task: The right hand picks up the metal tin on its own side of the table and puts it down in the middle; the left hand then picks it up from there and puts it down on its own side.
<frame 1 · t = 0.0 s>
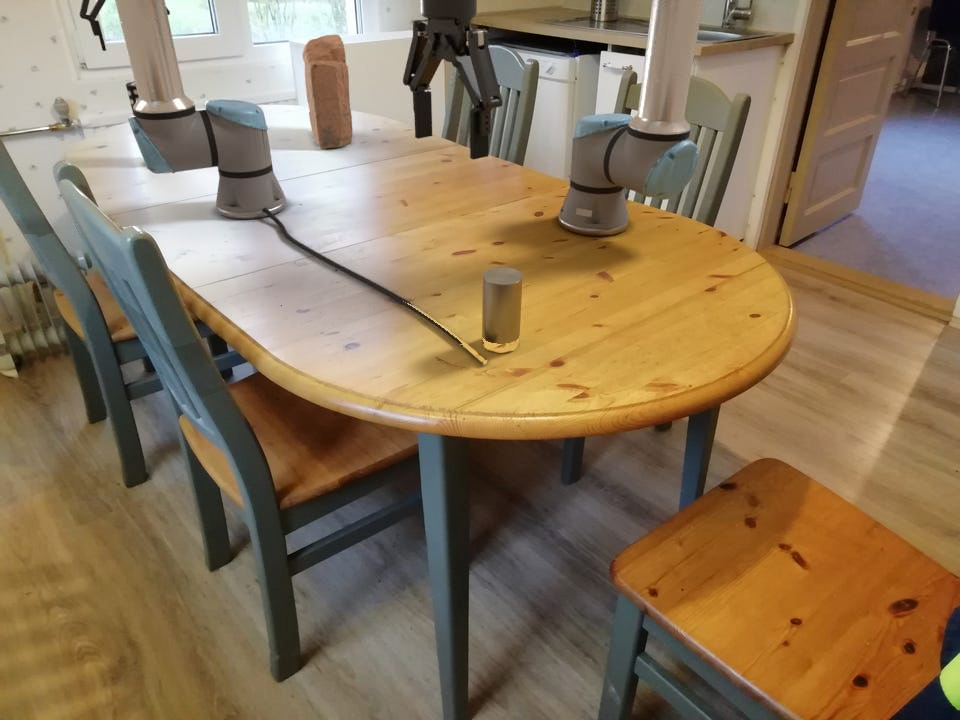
left hand: (133, 48, 174), 28 cm above the table, tool pointing down, fingers open, 13 cm apart
right hand: (450, 146, 102), 28 cm above the table, tool pointing down, fingers open, 13 cm apart
stone: (332, 139, 207), on the table
tin: (500, 343, 109), on the table
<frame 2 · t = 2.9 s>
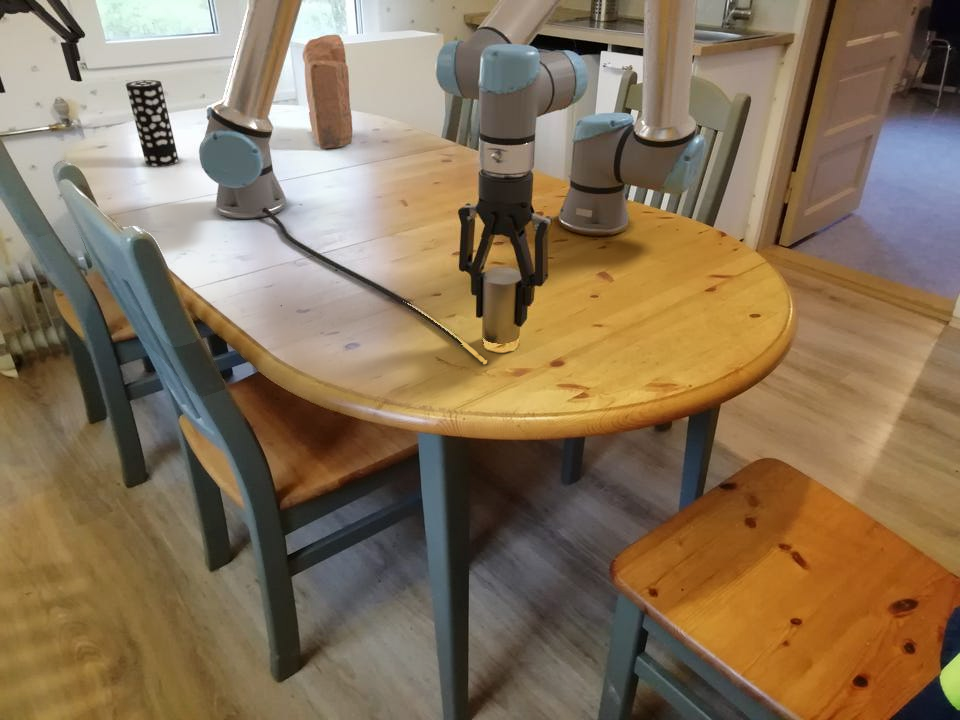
left hand: (39, 86, 126), 30 cm above the table, tool pointing down, fingers open, 13 cm apart
right hand: (501, 317, 106), 5 cm above the table, tool pointing down, fingers closed on tin, 6 cm apart
tin: (500, 343, 109), on the table, touching right hand
everything else where it was.
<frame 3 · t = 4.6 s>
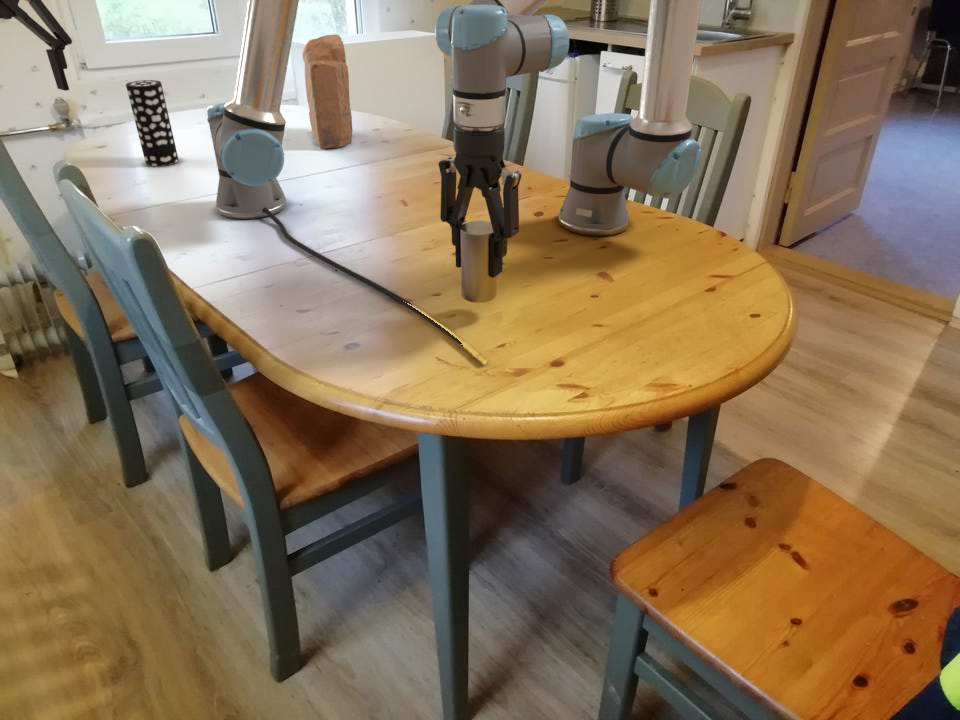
left hand: (24, 95, 119), 30 cm above the table, tool pointing down, fingers open, 13 cm apart
right hand: (478, 269, 113), 8 cm above the table, tool pointing down, fingers closed on tin, 6 cm apart
tin: (478, 294, 115), point 4 cm above the table, touching right hand
everything else where it was.
when the right hand's fingers open (6 cm above the table, at t = 6.5 s): tin drops 2 cm, on the table.
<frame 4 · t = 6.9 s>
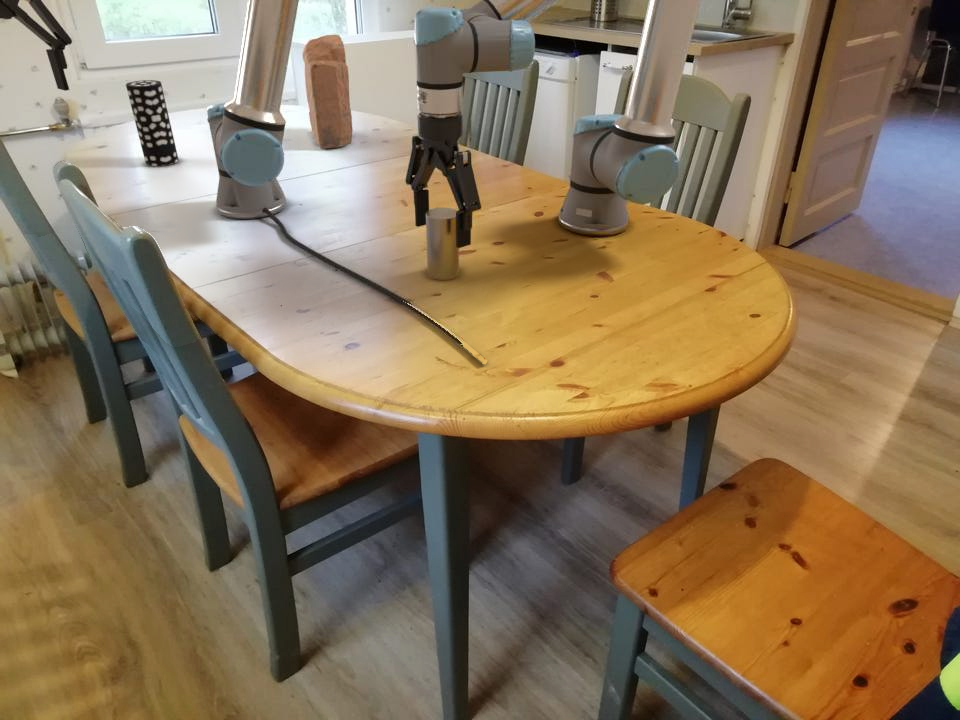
left hand: (24, 95, 119), 30 cm above the table, tool pointing down, fingers open, 13 cm apart
right hand: (442, 235, 126), 8 cm above the table, tool pointing down, fingers open, 12 cm apart
tin: (443, 273, 130), on the table
everything else where it was.
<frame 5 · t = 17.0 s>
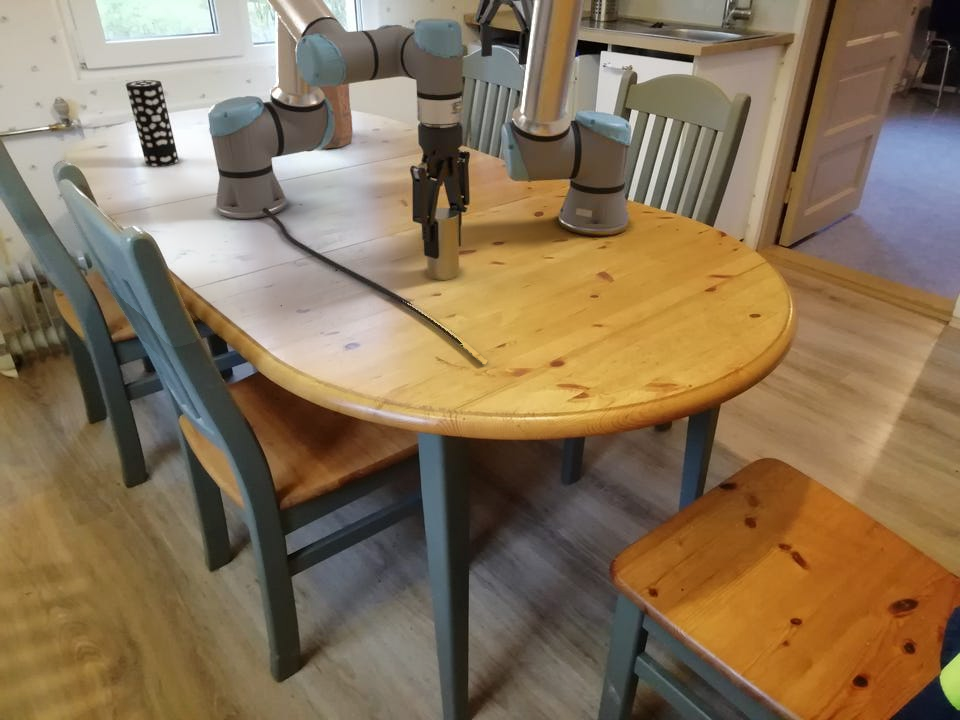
left hand: (442, 250, 128), 5 cm above the table, tool pointing down, fingers closed on tin, 6 cm apart
right hand: (504, 60, 165), 28 cm above the table, tool pointing down, fingers open, 13 cm apart
tin: (443, 273, 130), on the table, touching left hand
everything else where it was.
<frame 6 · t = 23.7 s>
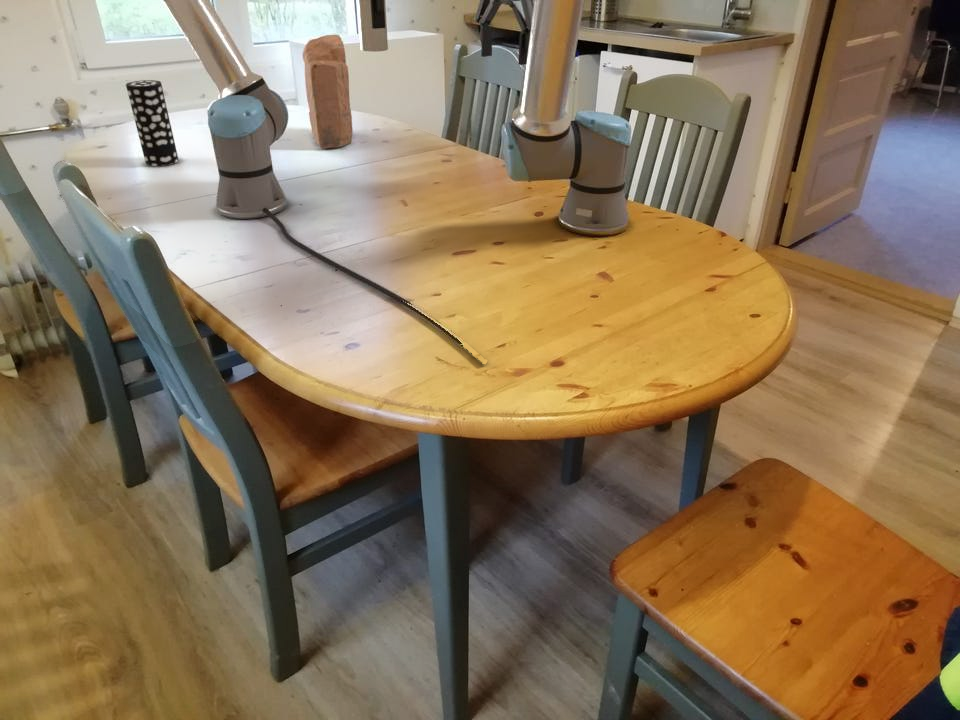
left hand: (372, 26, 149), 37 cm above the table, tool pointing down, fingers closed on tin, 6 cm apart
right hand: (504, 60, 165), 28 cm above the table, tool pointing down, fingers open, 13 cm apart
tin: (374, 49, 152), point 32 cm above the table, touching left hand
everything else where it was.
when the left hand's fingers open (6 cm above the table, at t = 30.7 s): tin drops 2 cm, on the table.
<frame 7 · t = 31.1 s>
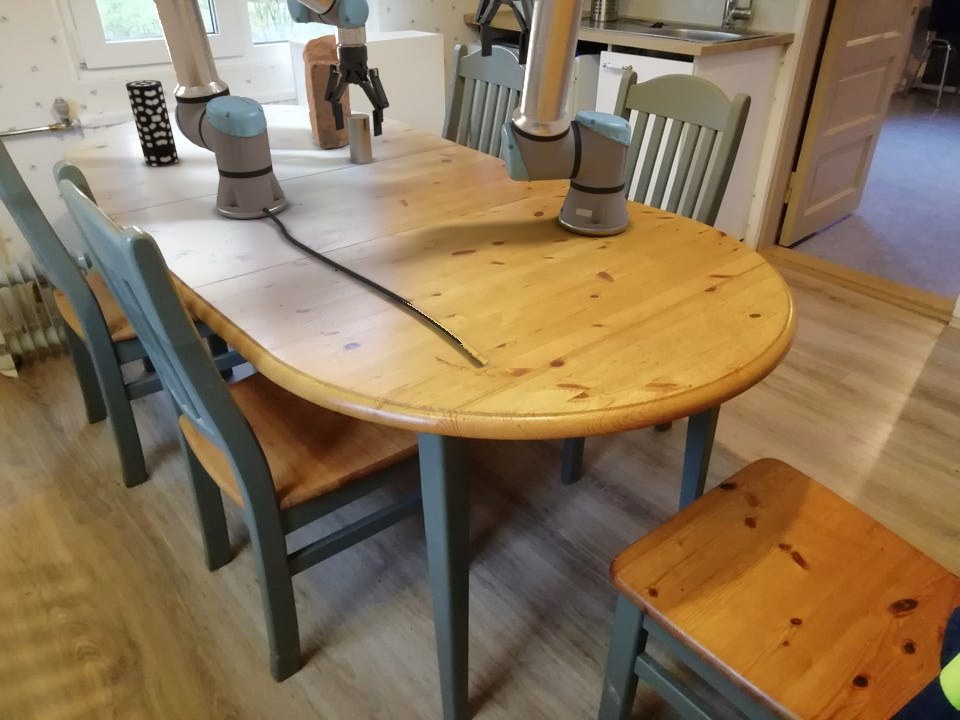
left hand: (358, 132, 185), 8 cm above the table, tool pointing down, fingers open, 12 cm apart
right hand: (504, 60, 165), 28 cm above the table, tool pointing down, fingers open, 13 cm apart
tin: (361, 160, 190), on the table
everything else where it was.
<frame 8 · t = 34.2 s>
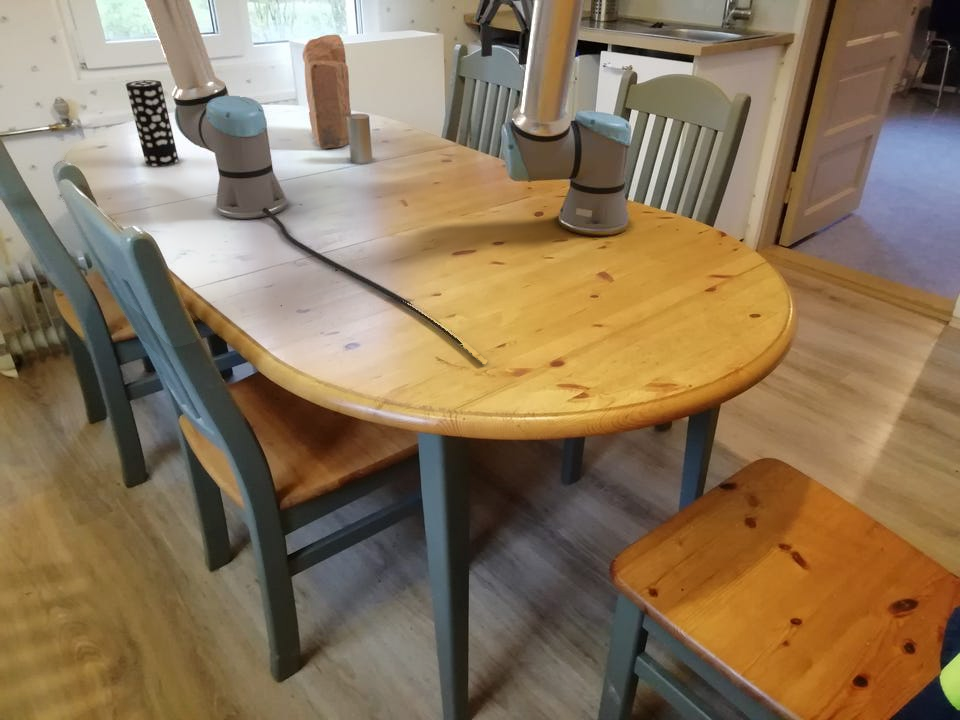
right hand: (504, 60, 165), 28 cm above the table, tool pointing down, fingers open, 13 cm apart
nothing on the table moved.
at the end: tin inside the target area (0.1 cm from its centre), on the table; tin tilted 0°; the two hands never held the tin at the same time; the left hand is holding nothing; the right hand is holding nothing; tin at rest at the end (0.0 cm/s) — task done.
